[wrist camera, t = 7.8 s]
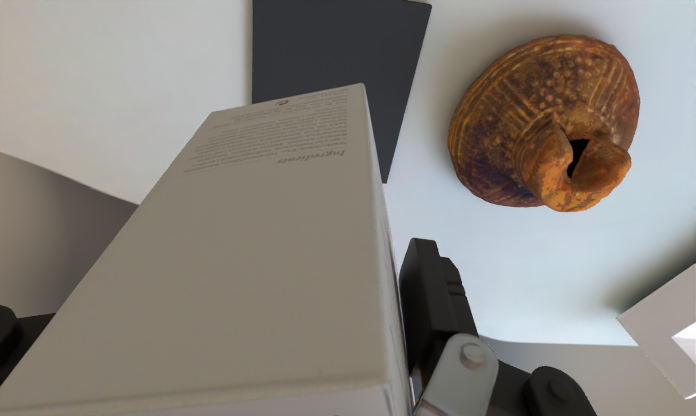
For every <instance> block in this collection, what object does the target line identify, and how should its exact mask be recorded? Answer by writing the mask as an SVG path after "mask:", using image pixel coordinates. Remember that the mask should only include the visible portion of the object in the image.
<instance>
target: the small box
mask: <svg viewBox="0 0 696 416" xmlns="http://www.w3.org/2000/svg"><path fill="white" fill-rule="evenodd" d="M414 406H415V399H414V392H413V385H412V378H410V376H409V368H408V361H407V352H406V344H405V336H404V328H403V319H402V311H401V303H400V295H399V279H398V272H397V265H396V258H395V252H394V247H393V241H392V236H391V230H390V225H389V219H388V214H387V208H386V203H385V197H384V192H383V186H382V180H381V175H380V169H379V163H378V157H377V151H376V146H375V140H374V135H373V129H372V124H371V118H370V113H369V107H368V101H367V96H366V90H365V86H364V84H363V83H358V84H353V85H349V86H344V87H339V88H333V89H328V90H323V91H318V92H313V93H308V94H302V95H297V96H292V97H287V98H282V99H277V100H272V101H266V102H262V103H257V104H252V105H246V106H241V107H236V108H231V109H226V110H221V111H216V112H212V113H211V114H210V115H209V116H208V117H207V119H206V120H205V121H204V123H203V124H202V125H201V126H200V127H199V129H198V130H197V131H196V133H195V134H194V135H193V137H192V138H191V139H190V141H189V142H188V143H187V144H186V146H185V147H184V148H183V149H182V151H181V152H180V153H179V155H178V156H177V157H176V158H175V160H174V161H173V162H172V164H171V165H170V167H169V168H168V169H167V170H166V172H165V173H164V174H163V175H162V177H161V178H160V179H159V181H158V182H157V183H156V185H155V186H154V187H153V189H152V190H151V191H150V192H149V194H148V195H147V196H146V198H145V199H144V200H143V201H142V203H141V204H140V205H139V207H138V208H137V210H136V211H135V212H134V213H133V215H132V216H131V217H130V219H129V220H128V221H127V223H126V224H125V225H124V226H123V228H122V229H121V230H120V232H119V233H118V234H117V236H116V237H115V238H114V239H113V241H112V242H111V243H110V245H109V246H108V247H107V248H106V250H105V251H104V252H103V254H102V255H101V256H100V258H99V259H98V260H97V261H96V263H95V264H94V265H93V267H92V268H91V269H90V271H89V272H88V273H87V274H86V276H85V277H84V278H83V279H82V281H81V282H80V283H79V284H78V286H77V287H76V288H75V289H74V291H73V292H72V293H71V295H70V296H69V297H68V299H67V300H66V301H65V303H64V304H63V305H62V307H61V308H60V309H59V311H58V312H57V313H56V314H55V316H54V317H53V318H52V320H51V321H50V322H49V324H48V325H47V326H46V328H45V329H44V330H43V332H42V333H41V334H40V336H39V337H38V338H37V340H36V341H35V342H34V343H33V345H32V346H31V347H30V349H29V350H28V351H27V353H26V354H25V355H24V356H23V358H22V359H21V360H20V362H19V363H18V364H17V366H16V367H15V368H14V369H13V371H12V372H11V373H10V375H9V376H8V377H7V379H6V380H5V381H4V383H3V384H2V385H1V387H0V416H413V415H414V413H413V409H414Z"/></svg>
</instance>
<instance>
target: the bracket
mask: <svg viewBox="0 0 696 416" xmlns="http://www.w3.org/2000/svg"><path fill="white" fill-rule="evenodd" d="M616 319H617V320H618V321H619V323H620V324H621V325H622V326H623V327H624V329H625V330H626V331H627V332H628V333H629V335H630V336H631V337H632V338H633V339H634V341H635V342H636V343H637V344H638V345H639V346H640V348H641V349H642V350H643V351H644V352H645V354H646V355H647V356H648V357H649V358H650V360H651V361H652V362H653V363H654V364H655V365H656V367H657V368H658V369H659V370H660V371H661V373H662V374H663V375H664V376H665V377H666V379H667V380H668V381H669V382H670V383H671V385H672V386H673V387H674V388H675V389H676V391H677V392H678V393H679V394H680V395H681V396H682V398H683V399H690V398H692V397H694V396H696V263H695V264H693V265H692V266H691V267H689V268H688V269H686V270H685V271H683V272H682V273H680V274H679V275H678V276H676V277H675V278H673V279H672V280H670V281H669V282H667V283H666V284H665V285H663V286H662V287H660V288H659V289H657V290H656V291H654V292H653V293H652V294H650V295H649V296H647V297H646V298H644V299H643V300H641V301H640V302H639V303H637V304H636V305H634V306H633V307H631V308H630V309H628V310H627V311H626V312H624V313H623V314H621V315H620V316H618V317H617V318H616Z"/></svg>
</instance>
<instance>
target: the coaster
mask: <svg viewBox="0 0 696 416" xmlns="http://www.w3.org/2000/svg"><path fill="white" fill-rule="evenodd" d="M431 8H432V5H430V4H425V3H419V2H414V1H408V0H253V72H252V104H257V103H262V102H266V101H272V100H277V99H282V98H287V97H292V96H297V95H302V94H308V93H313V92H318V91H323V90H328V89H333V88H339V87H344V86H349V85H353V84H358V83H363V84H364V86H365V90H366V96H367V101H368V107H369V113H370V118H371V124H372V129H373V135H374V140H375V146H376V151H377V157H378V163H379V169H380V175H381V180H382V183H385V184H386V183H387V179H388V175H389V171H390V167H391V163H392V159H393V156H394V152H395V148H396V144H397V140H398V136H399V132H400V128H401V125H402V121H403V117H404V113H405V109H406V105H407V101H408V97H409V93H410V90H411V86H412V82H413V78H414V74H415V70H416V66H417V62H418V59H419V55H420V51H421V47H422V43H423V39H424V35H425V31H426V28H427V24H428V20H429V16H430V12H431Z"/></svg>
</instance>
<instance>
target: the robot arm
mask: <svg viewBox="0 0 696 416" xmlns="http://www.w3.org/2000/svg"><path fill="white" fill-rule="evenodd" d="M399 295H400V303H401V311H402V319H403V328H404V336H405V344H406V352H407V361H408V368H409V376H410V378H420V379H421V382H422V388H423V389H422V392H421V393H420V395H419V397H418V400H417V402H416V404H415V406H414V409H413V413H414V415H413V416H597V415H596V413H595V411H594V409H593V408H592V406H591V404H590V402H589V400H588V399H587V397H586V395H585V393H584V392H583V390H582V389H581V387H580V386H579V385H578V384H577V383H576V382H575V380H574V379H572V378H571V377H570V376H569V375H567V374H566V373H564V372H563V371H561V370H558V369H556V368H553V367H549V366H542V367H538V368H537V369H535V370H534V371H533V372H532V374H530V373H528V372H525V371H523V370H520V369H518V368H515V367H513V366H510V365H508V364H506V363H504V362H502V361H500V360H499V359H497V357H496V354H495V353H494V351H493V350H492V348H491V347H490V346H489V345H488V344H487V343H486V342H484V341H483V340H482V339H480V338H479V336H478V333H477V329H476V326H475V323H474V320H473V316H472V313H471V310H470V307H469V303H468V300H467V297H466V296H465V290H464V287H463V285H462V281H461V277H460V274H459V271H458V269H457V268H456V266H455V265H454V264H453V263H452V261H451V260H450V259H449V258H446V257H440V255H439V252H438V248H437V244H436V242H435V241H434V240H427V239H419V238H412V239H411V240H410V243H409V246H408V249H407V252H406V255H405V258H404V261H403V264H402V267H401V270H400V274H399ZM55 314H56V313H52V314H45V315H38V316H31V317H24V318H17V317H16V316H15V314H14V312H13V311H12V310H11V309H10V308H8V307H5V306H2V305H0V387H1V385H2V384H3V383H4V381H5V380H6V379H7V377H8V376H9V375H10V373H11V372H12V371H13V369H14V368H15V367H16V366H17V364H18V363H19V362H20V360H21V359H22V358H23V356H24V355H25V354H26V353H27V351H28V350H29V349H30V347H31V346H32V345H33V343H34V342H35V341H36V340H37V338H38V337H39V336H40V334H41V333H42V332H43V330H44V329H45V328H46V326H47V325H48V324H49V322H50V321H51V320H52V318H53V317H54V316H55Z"/></svg>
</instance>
